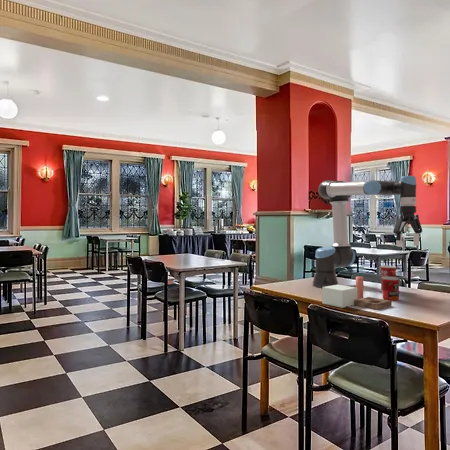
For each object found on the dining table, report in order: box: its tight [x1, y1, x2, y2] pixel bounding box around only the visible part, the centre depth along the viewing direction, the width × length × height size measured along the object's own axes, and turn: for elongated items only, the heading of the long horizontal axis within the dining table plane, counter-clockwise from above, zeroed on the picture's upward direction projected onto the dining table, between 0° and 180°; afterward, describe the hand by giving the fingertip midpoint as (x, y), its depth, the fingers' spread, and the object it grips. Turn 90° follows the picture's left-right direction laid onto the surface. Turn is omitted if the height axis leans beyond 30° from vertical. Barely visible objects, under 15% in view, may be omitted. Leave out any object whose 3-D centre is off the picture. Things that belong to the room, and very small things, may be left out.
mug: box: [379, 265, 397, 291], centre depth 224 cm, size 13×9×14 cm
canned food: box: [382, 276, 400, 302], centre depth 202 cm, size 8×8×11 cm
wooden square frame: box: [353, 296, 393, 311], centre depth 188 cm, size 12×12×2 cm
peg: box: [355, 276, 364, 299], centre depth 198 cm, size 4×4×12 cm
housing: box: [321, 284, 357, 309], centre depth 192 cm, size 12×12×8 cm
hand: (408, 246), depth 208 cm, fingers open, 13 cm apart
